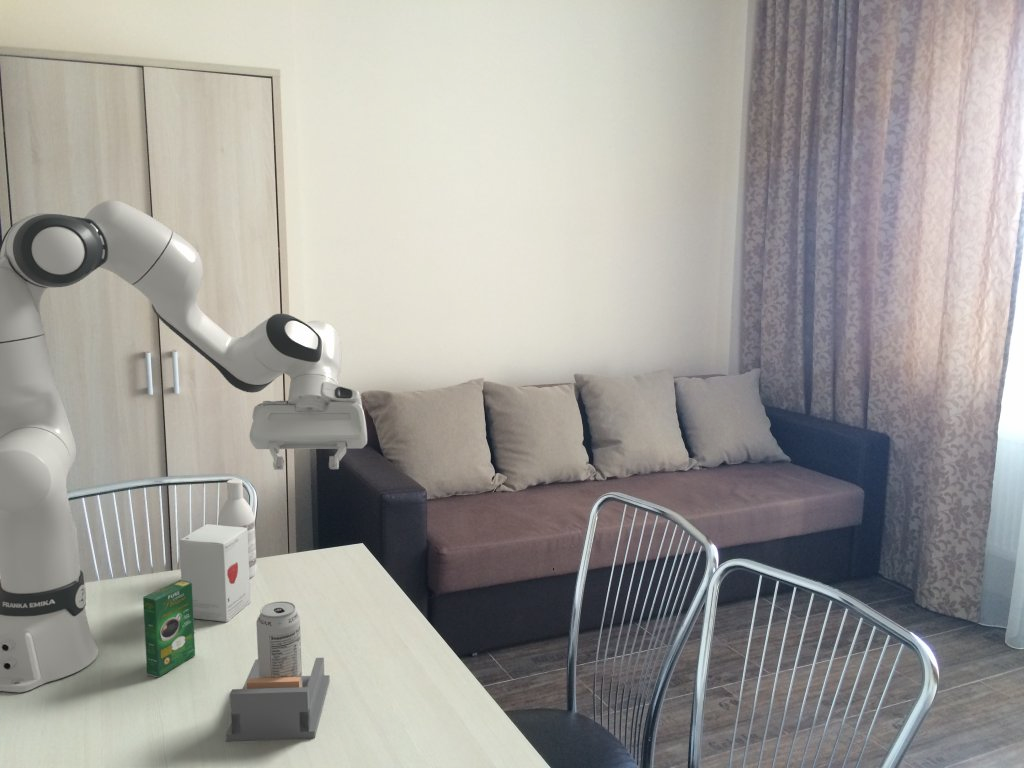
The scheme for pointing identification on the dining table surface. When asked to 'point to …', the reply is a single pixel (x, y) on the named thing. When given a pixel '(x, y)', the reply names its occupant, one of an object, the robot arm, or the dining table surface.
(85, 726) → the dining table surface
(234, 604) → the supplement box
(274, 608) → the energy drink can
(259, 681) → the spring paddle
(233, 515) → the bath foam
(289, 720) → the pusher lane
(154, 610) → the coffee box
